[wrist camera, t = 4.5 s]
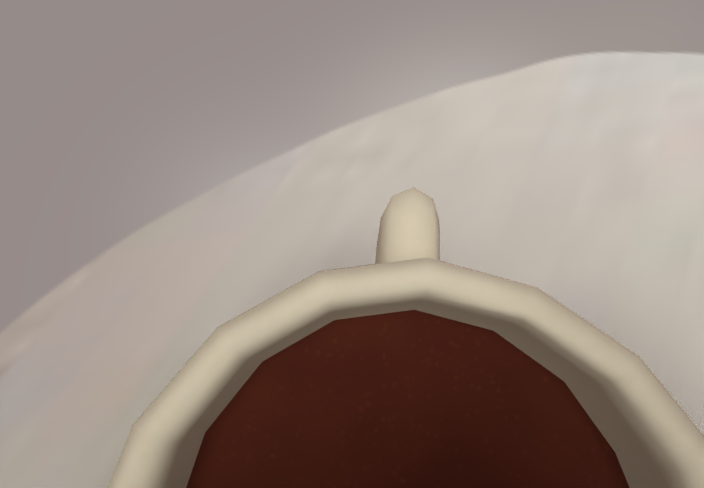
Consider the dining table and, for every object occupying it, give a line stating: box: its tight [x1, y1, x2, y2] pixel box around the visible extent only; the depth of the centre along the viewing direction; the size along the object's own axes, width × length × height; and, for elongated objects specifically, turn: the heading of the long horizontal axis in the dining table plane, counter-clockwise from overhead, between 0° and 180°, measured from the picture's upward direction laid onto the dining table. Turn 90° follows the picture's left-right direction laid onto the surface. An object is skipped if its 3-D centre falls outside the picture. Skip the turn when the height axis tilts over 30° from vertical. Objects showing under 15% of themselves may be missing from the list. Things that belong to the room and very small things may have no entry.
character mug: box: [108, 188, 704, 488], centre depth 11 cm, size 11×7×13 cm, turn 176°
